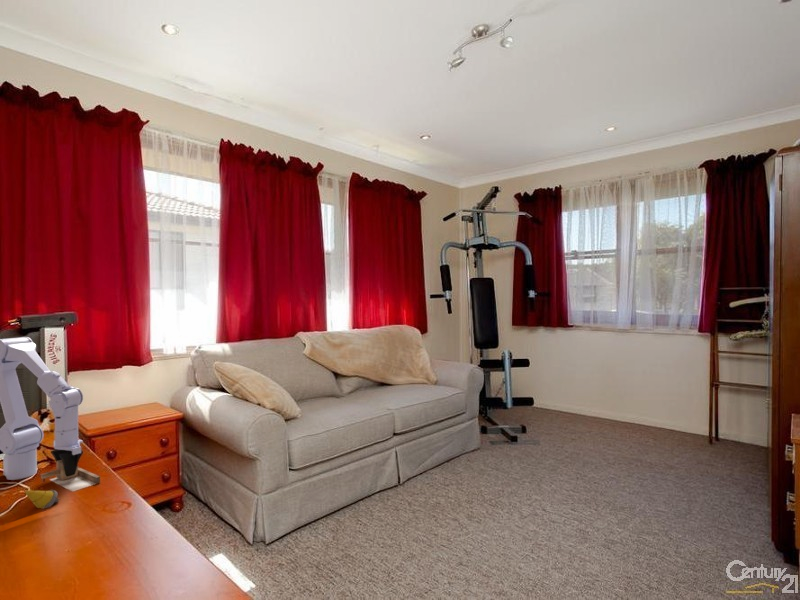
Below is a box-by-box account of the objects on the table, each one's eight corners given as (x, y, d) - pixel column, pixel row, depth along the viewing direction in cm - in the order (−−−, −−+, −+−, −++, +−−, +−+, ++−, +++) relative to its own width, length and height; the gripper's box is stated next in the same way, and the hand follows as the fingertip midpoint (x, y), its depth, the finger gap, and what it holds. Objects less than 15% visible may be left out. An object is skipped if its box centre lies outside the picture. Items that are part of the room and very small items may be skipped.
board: (49, 483, 132) (49, 473, 132) (76, 475, 138) (76, 466, 138) (72, 495, 123) (72, 485, 123) (100, 486, 129) (100, 476, 129)
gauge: (39, 482, 129) (38, 465, 129) (72, 473, 136) (71, 457, 136) (44, 485, 127) (44, 468, 127) (77, 475, 134) (77, 459, 134)
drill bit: (62, 510, 115) (29, 495, 109) (44, 519, 116) (10, 504, 109) (69, 491, 120) (37, 476, 113) (51, 500, 120) (18, 485, 113)
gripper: (92, 429, 133) (92, 474, 133) (71, 422, 141) (72, 464, 140) (65, 435, 127) (65, 482, 127) (44, 428, 135) (45, 472, 135)
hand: (67, 473), depth 133 cm, fingers closed on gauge, 4 cm apart
